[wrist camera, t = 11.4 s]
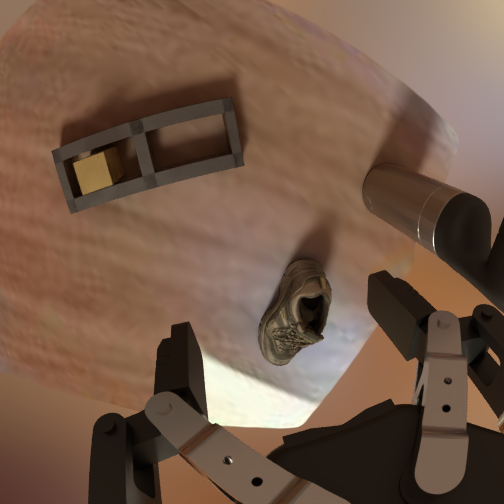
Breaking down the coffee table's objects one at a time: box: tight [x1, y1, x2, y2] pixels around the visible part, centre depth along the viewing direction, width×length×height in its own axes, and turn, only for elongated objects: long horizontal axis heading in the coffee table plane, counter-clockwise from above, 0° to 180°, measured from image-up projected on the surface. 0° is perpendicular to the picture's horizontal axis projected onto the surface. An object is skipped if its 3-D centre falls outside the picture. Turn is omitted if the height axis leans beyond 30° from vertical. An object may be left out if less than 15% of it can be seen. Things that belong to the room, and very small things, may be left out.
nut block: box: [73, 146, 124, 195], centre depth 33 cm, size 4×4×7 cm
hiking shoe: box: [258, 260, 332, 366], centre depth 50 cm, size 9×21×12 cm, turn 166°
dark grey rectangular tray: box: [52, 97, 245, 214], centre depth 36 cm, size 24×9×3 cm, turn 100°
